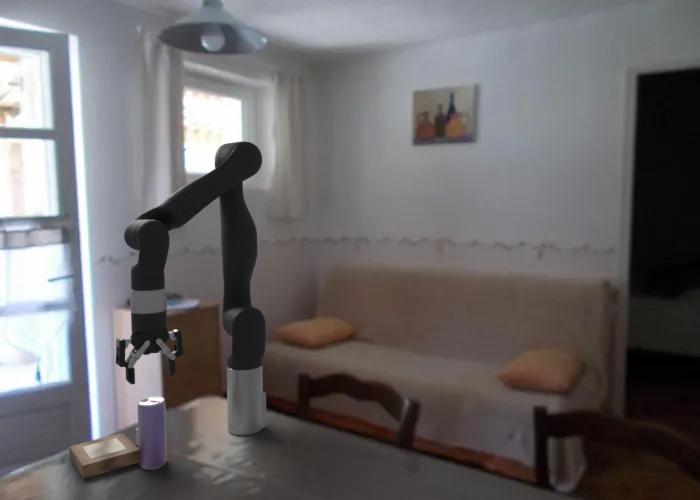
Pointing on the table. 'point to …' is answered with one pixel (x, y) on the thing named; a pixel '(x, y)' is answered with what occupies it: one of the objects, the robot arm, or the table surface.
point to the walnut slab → (103, 455)
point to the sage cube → (137, 436)
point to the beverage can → (152, 432)
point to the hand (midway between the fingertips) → (151, 379)
